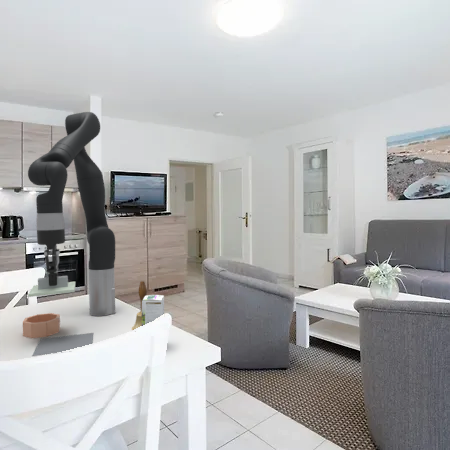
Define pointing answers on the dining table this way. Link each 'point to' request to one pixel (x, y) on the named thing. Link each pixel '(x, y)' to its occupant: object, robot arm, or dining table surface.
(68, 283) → the cover sheet
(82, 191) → the robot arm
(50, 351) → the mat
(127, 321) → the dining table surface
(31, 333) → the bowl
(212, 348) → the dining table surface
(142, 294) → the hand bell
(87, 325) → the dining table surface
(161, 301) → the syrup box
